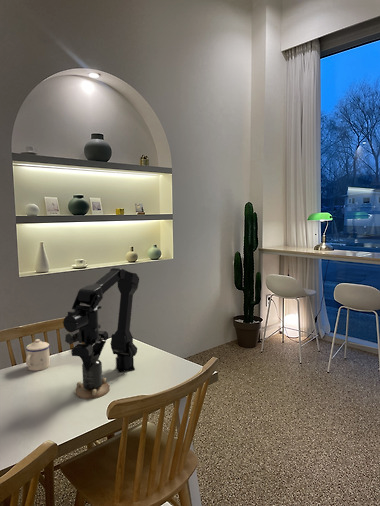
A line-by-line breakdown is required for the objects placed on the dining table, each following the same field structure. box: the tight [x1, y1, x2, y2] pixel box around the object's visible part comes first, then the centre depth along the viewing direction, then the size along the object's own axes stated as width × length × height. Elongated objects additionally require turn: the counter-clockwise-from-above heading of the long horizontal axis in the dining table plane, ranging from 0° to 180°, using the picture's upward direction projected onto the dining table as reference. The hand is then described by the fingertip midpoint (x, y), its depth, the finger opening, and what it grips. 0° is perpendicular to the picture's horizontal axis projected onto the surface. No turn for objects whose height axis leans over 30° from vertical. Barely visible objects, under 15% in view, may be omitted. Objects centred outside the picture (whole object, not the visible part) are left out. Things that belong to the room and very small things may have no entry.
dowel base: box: [74, 377, 111, 400], centre depth 141 cm, size 12×12×3 cm
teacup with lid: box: [25, 338, 51, 372], centre depth 161 cm, size 12×9×12 cm
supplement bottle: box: [81, 352, 103, 390], centre depth 141 cm, size 7×7×12 cm
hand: (91, 365), depth 140 cm, fingers closed on supplement bottle, 7 cm apart
